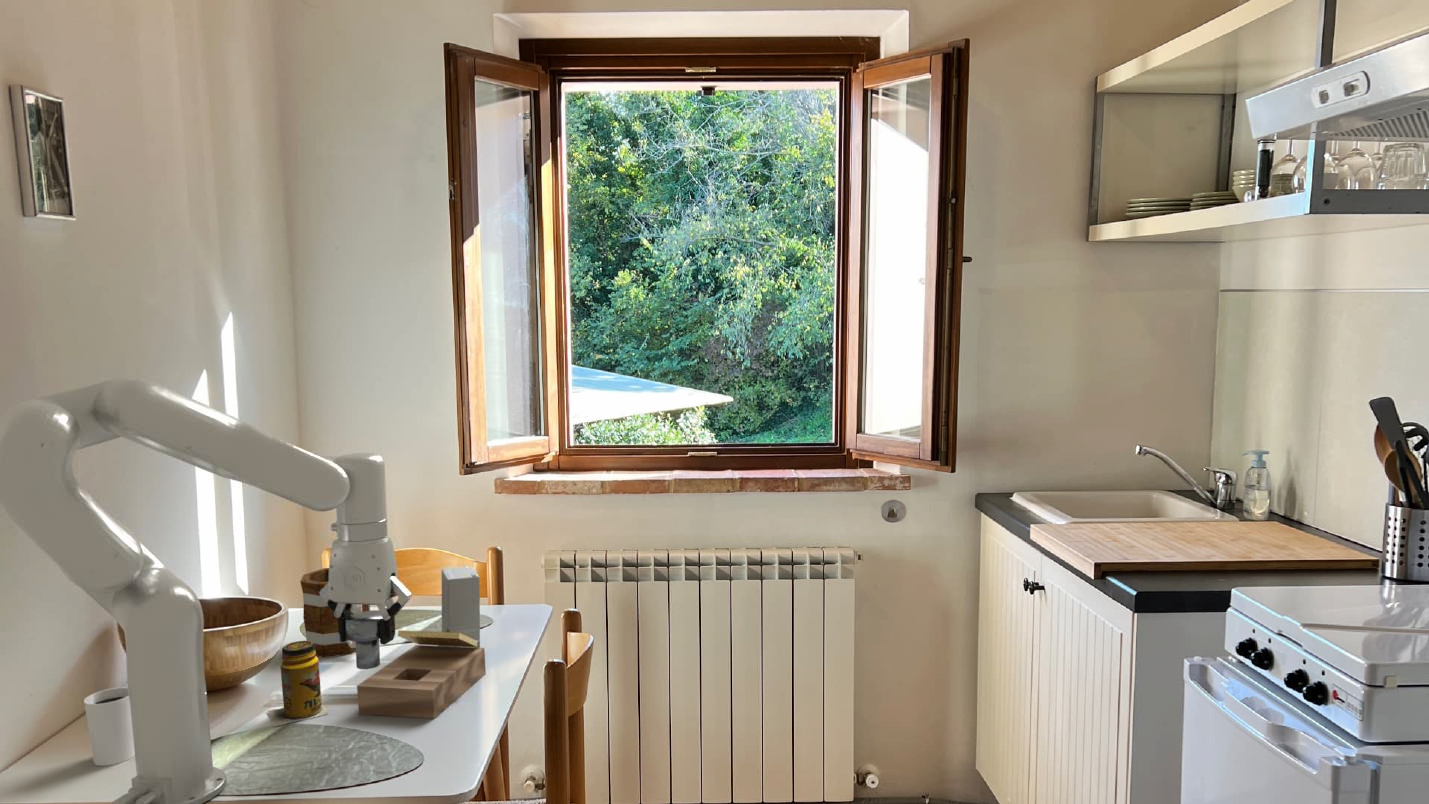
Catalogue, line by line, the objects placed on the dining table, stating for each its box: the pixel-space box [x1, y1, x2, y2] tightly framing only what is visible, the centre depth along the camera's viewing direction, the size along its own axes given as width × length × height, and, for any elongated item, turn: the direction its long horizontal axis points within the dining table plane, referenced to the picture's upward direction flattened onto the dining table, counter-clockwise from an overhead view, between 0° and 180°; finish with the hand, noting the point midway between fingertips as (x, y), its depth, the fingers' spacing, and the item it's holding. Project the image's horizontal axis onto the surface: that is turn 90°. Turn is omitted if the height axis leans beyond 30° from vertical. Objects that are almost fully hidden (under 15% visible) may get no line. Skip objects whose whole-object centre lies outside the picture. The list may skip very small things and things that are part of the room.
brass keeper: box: [397, 630, 481, 647], centre depth 180 cm, size 9×12×1 cm
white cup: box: [83, 686, 135, 767], centre depth 153 cm, size 7×7×10 cm
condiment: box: [267, 640, 329, 727], centre depth 167 cm, size 7×8×12 cm
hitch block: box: [356, 644, 487, 720], centre depth 175 cm, size 20×14×5 cm
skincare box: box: [440, 565, 481, 648], centre depth 197 cm, size 8×7×16 cm
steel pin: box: [345, 610, 383, 670], centre depth 157 cm, size 6×6×8 cm
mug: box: [299, 567, 371, 658], centre depth 198 cm, size 20×14×15 cm
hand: (367, 639), depth 157 cm, fingers closed on steel pin, 6 cm apart
